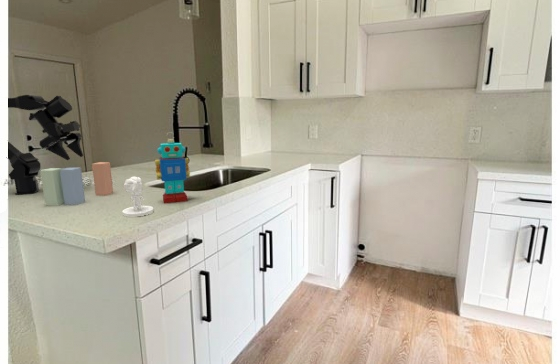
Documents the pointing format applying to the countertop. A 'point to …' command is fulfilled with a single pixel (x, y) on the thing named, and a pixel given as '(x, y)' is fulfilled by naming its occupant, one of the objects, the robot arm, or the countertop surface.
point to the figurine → (136, 198)
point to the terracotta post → (102, 178)
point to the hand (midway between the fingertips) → (75, 158)
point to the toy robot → (172, 171)
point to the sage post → (52, 186)
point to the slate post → (72, 186)
